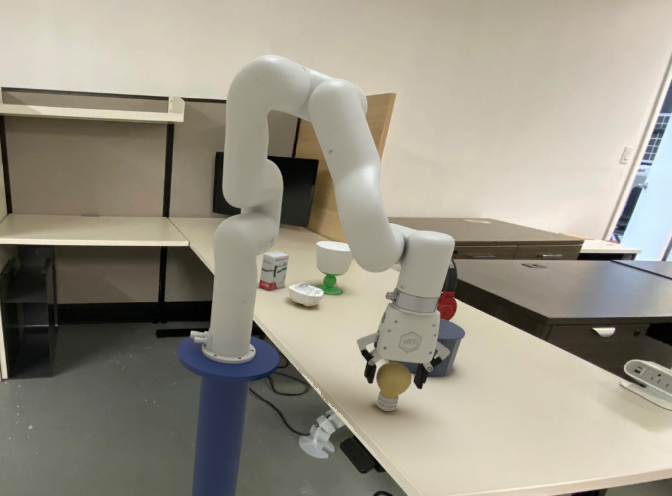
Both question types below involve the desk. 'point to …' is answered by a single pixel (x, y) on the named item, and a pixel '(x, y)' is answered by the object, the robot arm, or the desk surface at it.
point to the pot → (444, 366)
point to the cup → (332, 263)
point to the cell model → (305, 294)
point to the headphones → (448, 294)
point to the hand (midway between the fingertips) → (393, 383)
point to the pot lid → (449, 331)
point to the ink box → (273, 270)
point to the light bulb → (391, 384)
